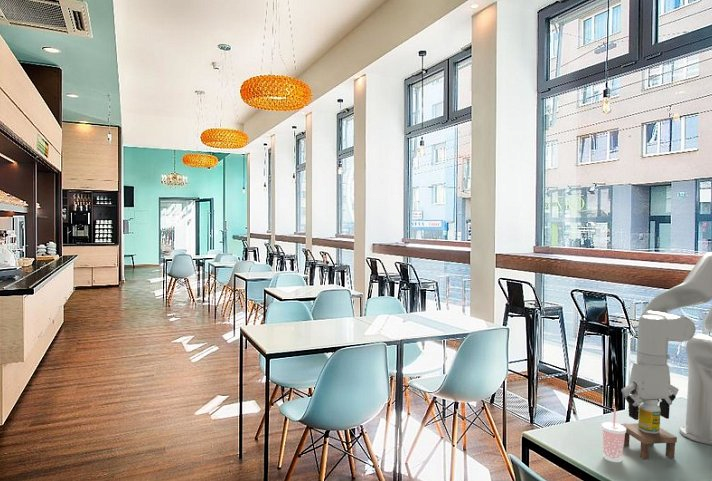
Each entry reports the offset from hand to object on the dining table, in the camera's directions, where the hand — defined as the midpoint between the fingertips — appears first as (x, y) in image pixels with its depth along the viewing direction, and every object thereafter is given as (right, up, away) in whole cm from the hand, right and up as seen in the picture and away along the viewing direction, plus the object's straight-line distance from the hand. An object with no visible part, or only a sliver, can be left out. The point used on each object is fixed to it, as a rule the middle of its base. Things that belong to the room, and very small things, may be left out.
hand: (648, 417), depth 146 cm
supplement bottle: (0, -4, 0) cm, 4 cm away
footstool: (0, -10, 0) cm, 10 cm away
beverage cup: (-13, -10, -5) cm, 17 cm away
